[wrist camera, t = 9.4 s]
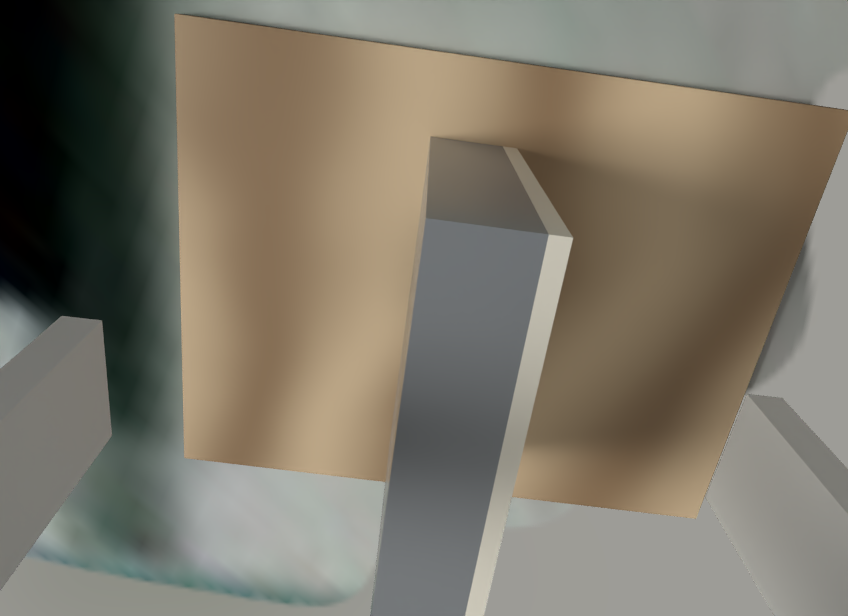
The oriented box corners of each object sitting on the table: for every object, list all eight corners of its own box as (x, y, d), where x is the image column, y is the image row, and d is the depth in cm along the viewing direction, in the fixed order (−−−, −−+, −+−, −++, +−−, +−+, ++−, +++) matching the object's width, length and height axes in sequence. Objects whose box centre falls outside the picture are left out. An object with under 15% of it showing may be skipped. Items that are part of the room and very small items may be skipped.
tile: (390, 437, 22) (366, 649, 14) (430, 136, 18) (425, 218, 10) (460, 446, 22) (473, 661, 14) (516, 148, 18) (573, 237, 10)
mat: (189, 449, 23) (184, 458, 22) (181, 14, 17) (174, 14, 17) (690, 508, 23) (696, 518, 23) (844, 109, 18) (855, 111, 17)
